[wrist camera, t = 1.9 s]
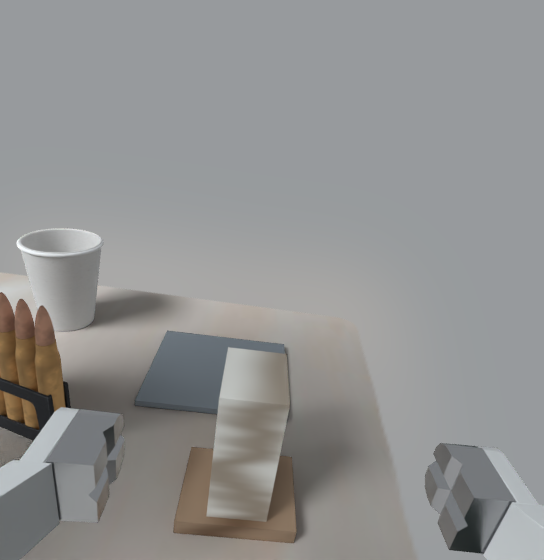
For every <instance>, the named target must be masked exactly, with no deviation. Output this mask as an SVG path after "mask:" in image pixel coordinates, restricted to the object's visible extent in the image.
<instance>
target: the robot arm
mask: <svg viewBox="0 0 544 560" xmlns="http://www.w3.org/2000/svg"><path fill="white" fill-rule="evenodd" d="M123 427H124V416H123V415H122V414H119V413H110V412H102V411H93V410H85V409H73V408H64V407H61V408H59V409H58V410H56V411H55V412H54V413H53V415H52V416H51V418H50V419H49V420H48V422H47V423H46V425H45V426H44V427H43V429H42V430H41V432H40V433H39V434H38V436H37V437H36V438H35V440H34V441H33V443H32V444H31V445H30V447H29V448H28V450H27V451H26V452H25V454H24V455H23V456H22V458H21V459H20V460H12V461H10V462H9V463H7V464H5V465H4V466H2V467H0V560H20V559H21V558H22V557H23V556H24V555H25V554H26V553H28V552H29V551H30V550H31V549H32V548H33V547H34V546H35V545H36V544H37V543H39V542H40V541H41V540H42V539H43V538H44V537H45V536H46V535H47V534H48V533H50V532H51V531H52V530H53V529H54V528H55V527H56V526H57V525H58V524H59V523H60V522H59V521H73V522H94V523H98V522H99V519H100V517H101V514H102V512H103V510H104V507H105V505H106V503H107V500H108V498H109V484H111V483H112V482H113V481H115V480H116V479H117V476H118V474H119V471H120V469H121V465H122V461H123V457H124V450H125V439H124V438H123V437H122V436H121V432H122V430H123ZM434 456H435V458H436V461H435V462H434V463H433V464H431V465H430V466H428V469H427V472H426V475H425V489H426V494H427V497H428V500H429V502H430V505H431V506H432V507H433V508H434V509H435V510H436V511H437V512H438V513H439V514H440V517H439V520H438V525H439V527H440V530H441V532H442V534H443V537H444V539H445V542H446V544H447V546H448V549H449V550H454V551H464V552H474V553H483V554H484V555H483V556H484V557H485V558H486V559H487V560H544V505H539V504H538V503H537V501H536V500H535V498H534V497H533V495H532V494H531V492H530V491H529V489H528V488H527V487H526V485H525V484H524V482H523V481H522V479H521V478H520V476H519V475H518V474H517V472H516V471H515V469H514V468H513V466H512V465H511V463H510V462H509V460H508V459H507V458H506V456H505V455H504V453H503V452H502V451H501V450H499V449H498V448H493V447H481V446H477V447H476V446H468V445H456V444H443V443H440V444H439V445H438V446H437V447H436V449H435V451H434Z"/></svg>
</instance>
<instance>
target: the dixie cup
mask: <svg viewBox="0 0 544 560" xmlns="http://www.w3.org/2000/svg"><path fill="white" fill-rule="evenodd" d="M103 243H104V242H103V240H102V238H101V237H100V236H98V235H97V234H95V233H92V232H89V231H84V230H78V229H68V228H57V229H45V230H39V231H34V232H31V233H28V234H25V235H23V236H22V237H21V238H19V239H18V241H17V247H18V248H19V249H20V250H21V253H22V257H23V260H24V264H25V267H26V271H27V274H28V278H29V282H30V285H31V289H32V292H33V296H34V299H35V303H36V306H37V310H38V309H39V307H40V306H41V305H43V306H44V307H45V308H46V310H47V311H48V313H49V316H50V318H51V321H52V324H53V328H54V331H61V332H63V331H74V330H78V329H81V328H84V327H86V326H88V325H89V324H91V323H92V322H93V320H94V315H95V307H96V295H97V284H98V273H99V264H100V254H101V247H102V246H103Z"/></svg>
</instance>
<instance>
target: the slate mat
mask: <svg viewBox="0 0 544 560" xmlns="http://www.w3.org/2000/svg"><path fill="white" fill-rule="evenodd" d="M228 347H230V348H239V349H248V350H256V351H265V352H274V353H282V354H285V352H284V344H277V343H268V342H260V341H251V340H243V339H234V338H226V337H217V336H209V335H200V334H192V333H183V332H175V331H167V332H166V335H165V337H164V339H163V341H162V343H161V345H160V347H159V350H158V352H157V354H156V356H155V358H154V360H153V362H152V365H151V367H150V369H149V371H148V373H147V375H146V377H145V380H144V382H143V384H142V386H141V388H140V390H139V393H138V395H137V397H136V399H135V406H145V407H154V408H164V409H173V410H183V411H192V412H201V413H211V414H217V413H218V404H219V396H220V390H221V385H222V379H223V374H224V368H225V362H226V357H227V351H228ZM287 420H288V418H287Z"/></svg>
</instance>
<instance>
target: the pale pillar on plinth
mask: <svg viewBox="0 0 544 560" xmlns="http://www.w3.org/2000/svg"><path fill="white" fill-rule="evenodd" d="M289 408H290V397H289V382H288V367H287V354H282V353H274V352H265V351H256V350H248V349H239V348H230V347H228V351H227V357H226V362H225V368H224V374H223V379H222V385H221V390H220V396H219V404H218V413H217V423H216V432H215V441H214V449H207V448H197V447H191V451H190V456H189V460H188V464H187V469H186V473H185V477H184V481H183V486H182V490H181V494H180V499H179V503H178V507H177V511H176V516H175V520H174V533H181V534H193V535H204V536H216V537H227V538H239V539H250V540H262V541H273V542H285V543H294V539H295V536H296V517H295V501H294V484H293V468H292V457H287V456H280V452H281V447H282V443H283V438H284V433H285V428H286V423H287V418H288V413H289Z"/></svg>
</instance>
